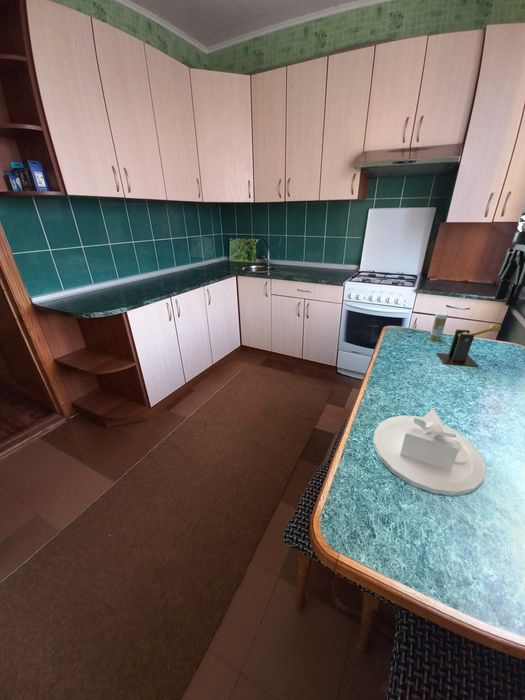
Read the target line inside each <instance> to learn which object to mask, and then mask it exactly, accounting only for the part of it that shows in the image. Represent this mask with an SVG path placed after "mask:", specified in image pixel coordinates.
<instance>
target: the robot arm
mask: <svg viewBox="0 0 525 700" xmlns="http://www.w3.org/2000/svg"><path fill="white" fill-rule="evenodd" d="M517 222H518V223H517V227H516V229H517V230H515V232H514V234H513V237H512V240H511V243H512V244H513V245H514V246H513V247H509V248H508V249H507V250H506V255H505V258H504V260H503V263H502V265H501V268H500V271H499V273H498V276H497V277H498V278H500V282H499V285H498V289H497V291H496V294H495V297H494V300H503V301H504V300H505V299H506V300H505V303H504V305H505V306H510V307H515V306H516V305H517V302H518V300H519V297H520V295H521V293H522V290H523V288H524V287H525V205H523V209H522V212H521V216H520V218H519V219H518V220H517ZM515 272H516V273H515ZM514 273H515V277H514V284H511V282H512V281H513V278H512V277H513V276H514ZM510 285H511V287H510ZM509 288H510V290H509ZM508 290H509V291H508ZM508 292H509V293H508ZM506 297H507V298H506Z"/></svg>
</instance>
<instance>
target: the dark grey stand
mask: <svg viewBox="0 0 525 700" xmlns="http://www.w3.org/2000/svg"><path fill="white" fill-rule="evenodd" d="M463 332H467V333H468V334H460V333H463ZM469 333H471V330H470V329H455V332H454V336H453V338H452V342H451V345H450V348H449V352H448V353H446V352H445V353H444V352H436V353H435V354H436V356H437V358H438V359H439V361H440V362H441V364H442V365H448V366H460V367H469V368H470V367H471V368H479V365H478V364H477V363H476V361H475V360H474V359H473V358H472V357H471V356H470V355H469V353H470V350H471V347H472V344H473V341H474V338H475V336H474V335H473V334H469ZM458 334H460V336H459V337H458Z"/></svg>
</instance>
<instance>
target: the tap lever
mask: <svg viewBox="0 0 525 700" xmlns="http://www.w3.org/2000/svg"><path fill="white" fill-rule="evenodd" d="M500 330H501V325H500V324H499V323H491V324H490V325H489V327H487V328H483V329H479V330H476V331H473V332H470V333H469V334H473V335H474V337H475V336H478V335H482V334H486V333H488V332H492V333H499V332H500ZM460 334H468V333H467V332H463V333H460ZM460 334H458V337H459V336H460Z"/></svg>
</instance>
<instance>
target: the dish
mask: <svg viewBox="0 0 525 700" xmlns="http://www.w3.org/2000/svg"><path fill="white" fill-rule="evenodd" d="M372 446H373V448H374V450H375V453H376V455H377V457H378V459H379V460H380V462H382V464H384V466H385V467H386V468H387V469H388V470H389V471H390V472H391V473H392V474H393V475H395V476H397V477H398V478H399V479H401V480H403V481H404V482H406V483H407V484H409V485H410V486H412V487H415V488H418V489H420V490H423V491H426V492H428V493H431V494H436V495H445V496H452V497H453V496H454V497H456V496H461V495H466V494H471V493H473V492H474V491H475V490H476V489H477V488H479V487H480V486H481V485H482V484H483V483H484V481H485V477H486V476H485V475H486V470H487V465H486V462H485V460H484V457H483V455H482V453H481V452H480V451H479V449H477V447H476V446H475V445H474V444H473V443H472V441H470V440H469V439H468V438H467V437H466V436H464V435H463V434H461V433H460V432H458V431H457V430H455V428H452V427H450V426H448V425H445V424H444V423H443V421H442V419H441V418H440V416H439V415H438V413H437V411H436V410H435V408H434V407H433V408H431V409H430V410H429V411H428V412H426V413H425V415H423V416H418V415H417V416H416V415H403V414H402V415H397V416H391V417H388V418H386V419H384V420H383V421H380V422H379V423H378V425H377V426H376V428H375V429H374V431H373V445H372Z"/></svg>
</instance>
